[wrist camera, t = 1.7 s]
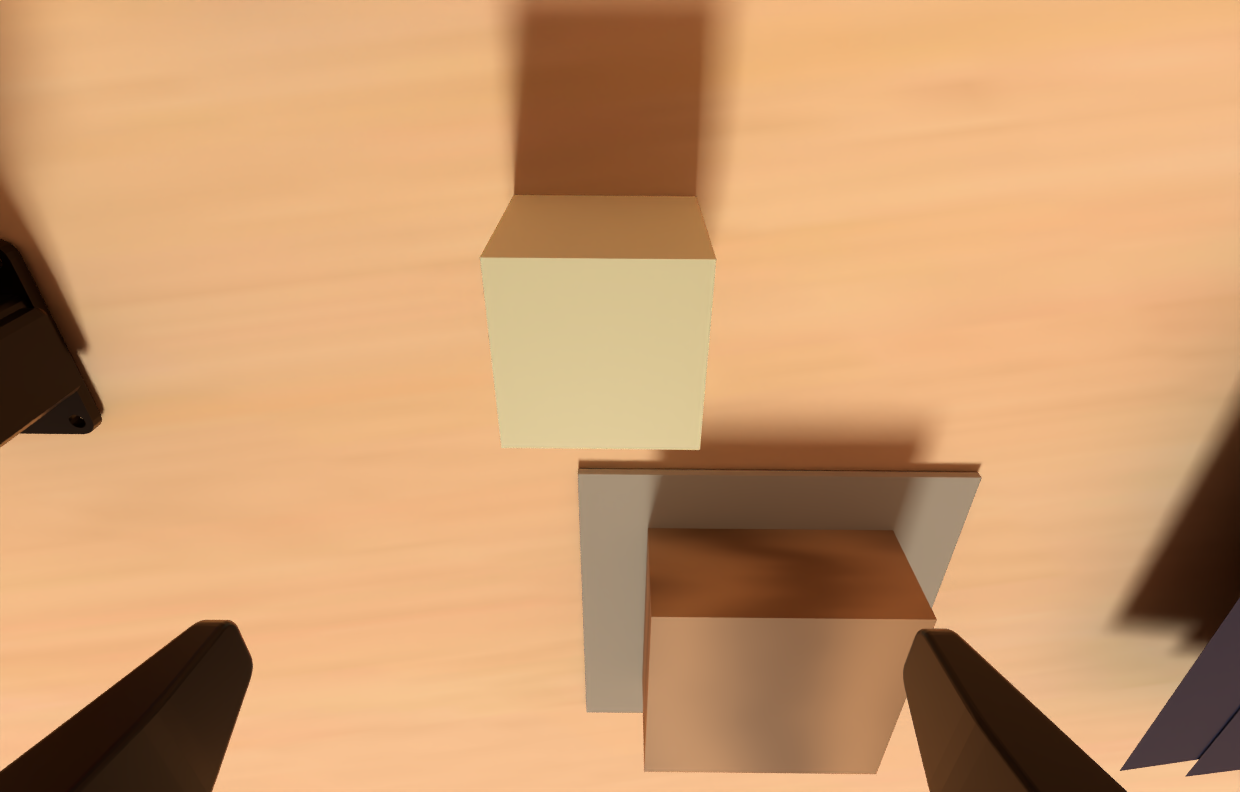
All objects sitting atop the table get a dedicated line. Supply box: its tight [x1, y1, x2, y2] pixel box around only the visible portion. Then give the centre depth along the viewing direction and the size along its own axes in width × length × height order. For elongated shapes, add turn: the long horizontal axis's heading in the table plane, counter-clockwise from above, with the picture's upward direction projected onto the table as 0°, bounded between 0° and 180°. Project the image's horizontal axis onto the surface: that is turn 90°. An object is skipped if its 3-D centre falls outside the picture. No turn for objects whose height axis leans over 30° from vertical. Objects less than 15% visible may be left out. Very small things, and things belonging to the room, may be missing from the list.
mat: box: [578, 469, 981, 713], centre depth 27 cm, size 14×14×1 cm
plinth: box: [642, 528, 937, 774], centre depth 25 cm, size 9×9×4 cm
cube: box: [480, 195, 716, 450], centre depth 17 cm, size 5×5×5 cm
